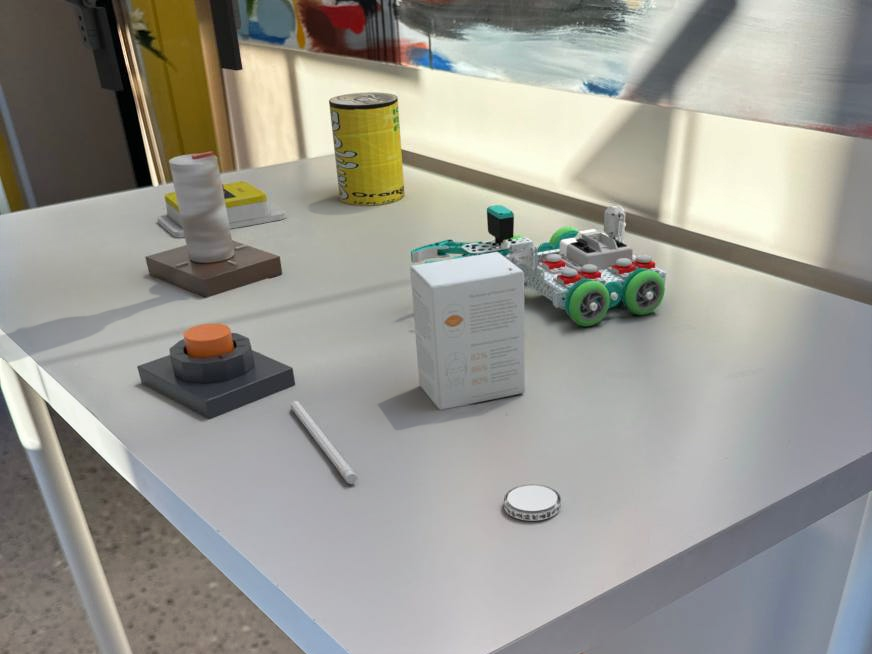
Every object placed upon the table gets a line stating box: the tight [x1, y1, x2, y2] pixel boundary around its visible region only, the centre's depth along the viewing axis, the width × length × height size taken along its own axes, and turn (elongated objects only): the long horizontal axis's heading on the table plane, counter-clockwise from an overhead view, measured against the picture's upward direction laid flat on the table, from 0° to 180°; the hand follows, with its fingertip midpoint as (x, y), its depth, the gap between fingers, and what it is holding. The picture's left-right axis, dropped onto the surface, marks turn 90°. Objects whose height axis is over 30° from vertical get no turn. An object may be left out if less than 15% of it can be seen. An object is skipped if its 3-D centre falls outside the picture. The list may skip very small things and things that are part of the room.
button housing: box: [136, 332, 296, 420], centre depth 85 cm, size 11×9×4 cm
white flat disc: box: [503, 484, 562, 522], centre depth 68 cm, size 4×4×1 cm
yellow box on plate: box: [156, 180, 287, 239], centre depth 126 cm, size 9×4×15 cm
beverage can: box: [328, 91, 405, 206], centre depth 130 cm, size 9×9×12 cm
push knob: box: [183, 322, 234, 358], centre depth 84 cm, size 4×4×2 cm
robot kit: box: [410, 204, 667, 327], centre depth 98 cm, size 19×25×9 cm
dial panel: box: [144, 239, 283, 299], centre depth 109 cm, size 12×10×2 cm
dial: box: [168, 151, 234, 263], centre depth 106 cm, size 5×5×10 cm
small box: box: [409, 252, 526, 411], centre depth 81 cm, size 8×6×10 cm
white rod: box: [290, 400, 358, 485], centre depth 77 cm, size 1×1×15 cm
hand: (174, 79), depth 95 cm, fingers open, 13 cm apart
